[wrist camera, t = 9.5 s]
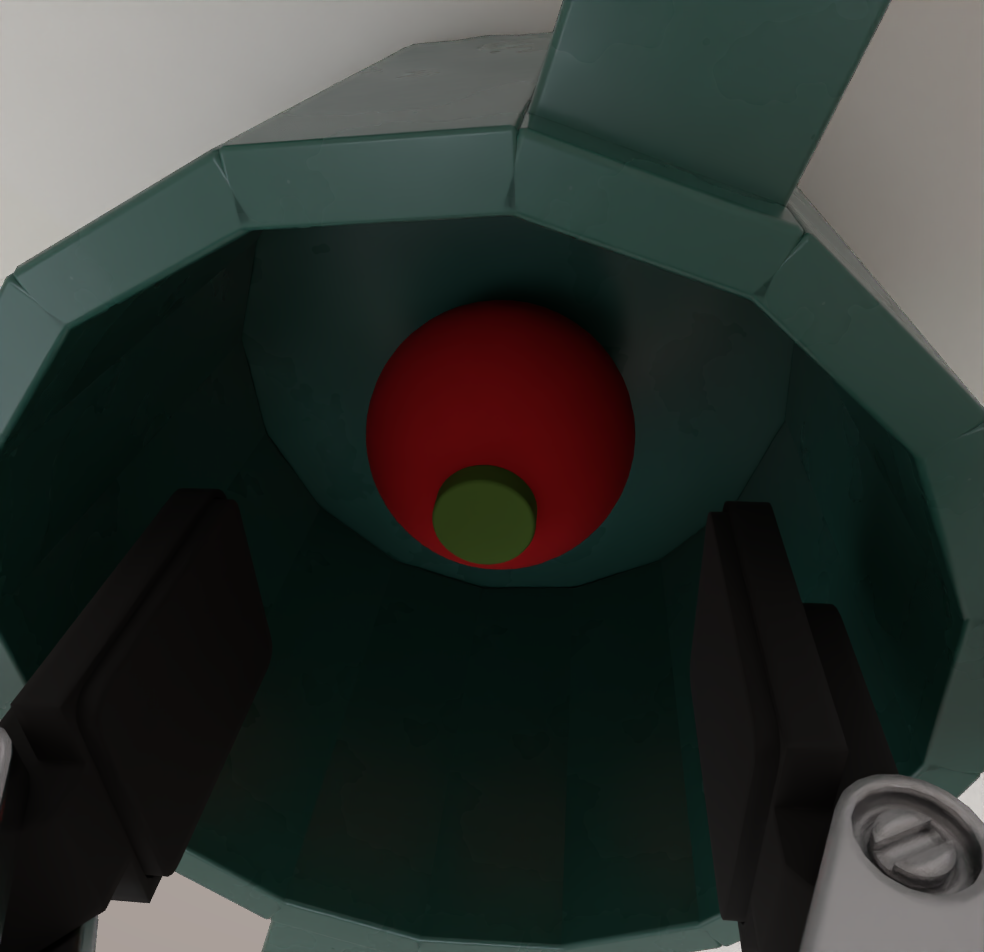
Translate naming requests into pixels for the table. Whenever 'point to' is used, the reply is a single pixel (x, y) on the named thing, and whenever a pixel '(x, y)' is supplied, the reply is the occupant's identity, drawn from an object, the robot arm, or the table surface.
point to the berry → (500, 434)
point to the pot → (511, 592)
